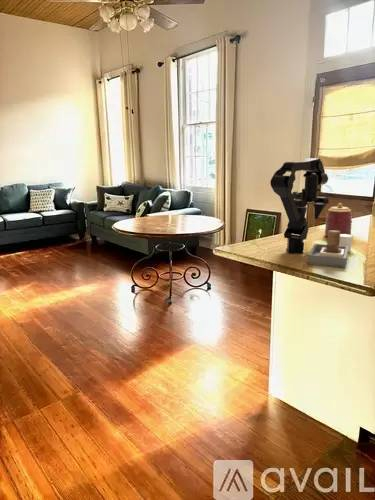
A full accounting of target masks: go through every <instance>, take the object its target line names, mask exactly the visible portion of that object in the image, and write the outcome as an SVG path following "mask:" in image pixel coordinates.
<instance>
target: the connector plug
mask: <svg viewBox="0 0 375 500" xmlns="http://www.w3.org/2000/svg"><path fill="white" fill-rule="evenodd" d="M326 240H327V242H326V245H327V250H326V252H329V253H338V252H339V242H340V231H337V230H329V231H328V237H327V239H326Z"/></svg>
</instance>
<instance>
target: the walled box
mask: <svg viewBox="0 0 375 500" xmlns="http://www.w3.org/2000/svg"><path fill="white" fill-rule="evenodd" d="M326 250H327V243H325V244H324V243H313V246H312V248H311V249H310V251H309V253H308V254H307V255H308V257H307V265H310V266H311V265H312V266H321V267H330V268H338V269H339V268H341V269H345V268H346V265H347V260H348V256H349V255H348V254H349V251H348V246H339V252H338V253H329V252H326Z"/></svg>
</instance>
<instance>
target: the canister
mask: <svg viewBox="0 0 375 500" xmlns="http://www.w3.org/2000/svg"><path fill="white" fill-rule="evenodd" d="M327 211H328V212H326V213H325V215H326V219H325V229H324V236H325V237H327V238H328V231H329V230H337V231H340V234H350V235H352V225H353V224H352V222H353V220H352V217H353V215H354V214H353V213H352V209H351V208H349V207H348V206H344V205H343V203H342V202H339V203H337V206H331V207H330V208H328V210H327Z"/></svg>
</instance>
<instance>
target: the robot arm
mask: <svg viewBox="0 0 375 500" xmlns="http://www.w3.org/2000/svg"><path fill="white" fill-rule="evenodd" d="M299 171H300V172H301V171H305V173H304V174H303V176H302V177H303V178H304V188H302V189H301V192H298V191H293V192H292V190H293V187H294V182H295V181H296V172H299ZM287 172H288V173H289V172H290V174H289V175H286V173H287ZM328 181H329V176H328V174H327V173H326V171H325V167H324V164H323V161H322V160H321V158H318V157H317V158H313V157H309V158H308V157H307V158H305V159H302V161H286V162H284V163H283V165H282V166H281V167H280V168H278V169H277V170H276V171H275V172H274V173H273V176H272V177H271V179H270V182H269V184H270V187H271V189H272V191H273V192H274V193H275V195H277V196H278V197H279V198H280V201H281V202H282V203H281V204H282V206H283V208H284V210H285V213H286V216H287V218H288V221H287V222H288V223H287V224H286V229H285V231H284V233H283V236H284V239H286V240H287V242H286V243H287V244H286V245H287V246H286V248H285V251H286V252H287V253H288V254H304V250H305V249H304V248H305V242H304V240H307V236H308V234H309V225H308V223H309V222H308V221H307V218H306V213H307V209H308V205H313V207H314V219H315V220H318V219H319V216H320V215H321V213H322V212H323V210H324V209H325V208H326V206H327V205H329V204H330V203H329V201H330V199H329V198H328V197H327V196H318V192H320V188H319V187H318V186H322V185H326V184H327V183H328Z"/></svg>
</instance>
